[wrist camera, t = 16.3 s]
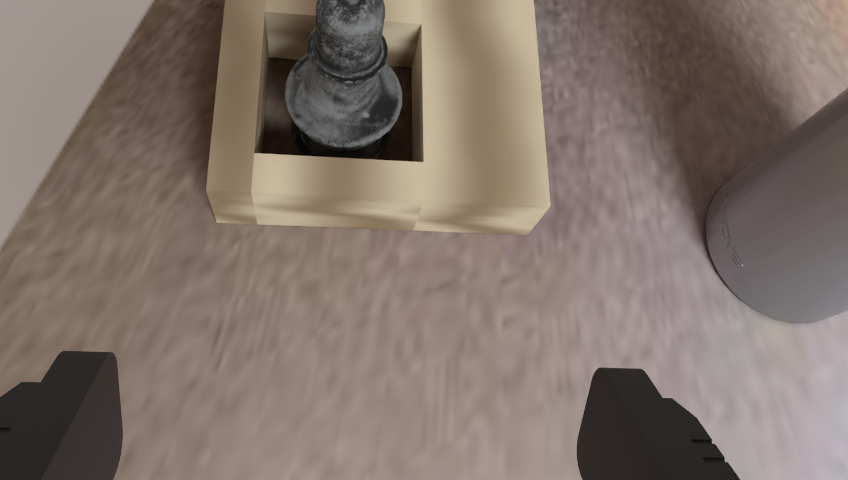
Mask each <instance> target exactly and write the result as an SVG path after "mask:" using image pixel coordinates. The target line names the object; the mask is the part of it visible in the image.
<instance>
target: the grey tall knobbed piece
mask: <svg viewBox="0 0 848 480" xmlns="http://www.w3.org/2000/svg"><path fill="white" fill-rule="evenodd" d="M384 19H385V5H384V1H383V0H317V2H316V27H315V28H314V29H313V31H312V32H311V33H310V36H309V38H308V41H307V53H308V54H306V55H305V56H304V57H302V58H301V59H299V60H298V61H297V63H296V64H295V65H294V67H293V68H292V69H291V70H290V72H289V75H288V78H287V80H286V83H285V95H284V98H285V102H286V106H287V110H288V113H289V114H290V116H291V118H292V120H293V126H292V132H293V136H294V140H295V144H296V145H297V147H298V149H299V150H300V152H301V154H303V155H304V156H318V157H336V158H355V159H374V160H377V159H378V158H379V157H380V156H381V154H382V153H383V151H384V150H385V148H386V146H387V143H388V139H389V130H390V129H391V128H392V126H393V125H394V123H395V122H396V120H397V119H398V117H399V113H400V110H401V107H402V90H401V86H400V83H399V80H398V78H397V76H396V74H395V73H394V71H393V70H392V68H391V67H390V66H389V65H388V64H387V63H386V60H387V56H388V46H387V43H386V40H385V38H384V36H383V35H382V32H383V26H384Z"/></svg>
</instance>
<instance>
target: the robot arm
mask: <svg viewBox="0 0 848 480" xmlns="http://www.w3.org/2000/svg"><path fill="white" fill-rule="evenodd" d="M706 241H707V245H708V249H709V252H710V256H711V259H712V261H713V263H714V265H715V267H716V269H717V271H718V273H719V275H720V276H721V278H722V279H723V280H724V282H725V283H726V284H727V286H728V287H729V289H730V290H731V291H732V292H734V293H735V294H736V295H737V296H738V297H739V298H740V299H741V300H742V301H743V302H744V303H746V304H747V305H749V306H750V307H751V308H753V309H754V310H756V311H757V312H759V313H761V314H764V315H766V316H768V317H770V318H773V319H775V320H780V321H784V322H789V323H811V322H815V321H819V320H823V319H826V318H829V317H832V316H834V315H837V314H840V313H843V312H845V311H848V88H847V89H846V90H845V91H843V92H842V93H841V94H839V95H838V96H837V97H836V98H834V99H833V100H832V101H830V102H829V103H828V104H827V105H825V106H824V107H823V108H821V109H820V110H819V111H818V112H816V113H815V114H814V115H812V116H811V117H810V118H809V119H807V120H806V121H805V122H803V123H802V124H801V125H800V126H798V127H797V128H796V129H794V130H793V131H792V132H791V133H789V134H788V135H787V136H785V137H784V138H783V139H782V140H780V141H779V142H778V143H776V144H775V145H774V146H773V147H771V148H770V149H769V150H767V151H766V152H765V153H763V154H762V155H761V156H760V157H758V158H757V159H756V160H755V161H753V162H752V163H751V164H750V165H748V166H747V167H746V168H745V169H743V170H742V171H741V172H739V173H738V174H737V175H736V176H734V177H733V178H732V179H730V180H729V181H728V182H727V183H725V184H724V185H723V186H722V187H721V188H720V189H719V191H718V192H717V193H716V194H715V196H714V197H713V200H712V202H711V204H710V206H709V209H708V213H707V219H706ZM122 438H123V430H122V417H121V405H120V393H119V380H118V368H117V361H116V357H115V355H114V353H112V352H82V351H62V352H61V353H60V354H59V355H58V356H57V358H56V359H55V361H54V362H53V364H52V366H51V367H50V369H49V370H48V372H47V373H46V375H45V376H44V378H43V380H42V381H41V383H39V382H21V383H20V384H18V385H17V386H15V387H14V388H13V389H11V390H10V391H8V392H7V393H6V394H4V395H3V396H1V397H0V480H113V478H114V476H115V473H116V471H117V468H118V464H119V460H120V455H121V449H122ZM724 459H725V458H724V456H723V455H722V453H721V452H720V450H719V449H718V448H717V446H716V445H715V444H712V439H711V438H710V436H709V435H708V433H707V432H706V431H705V429H704V428H703V426H702V425H701V424H700V422H699V421H698V419H697V418H696V417H695V416H694V415H692V414H691V413H690V412H689V411H687V410H686V409H685V408H683V407H682V406H681V405H680V404H678V403H677V402H676V401H674V400H673V399H672V398H662V396H661V395H660V393H659V392H658V390H657V389H656V387H655V386H654V384H653V383H652V381H651V380H650V378H649V377H648V375H647V374H646V373H645V371H643V370H642V369H628V368H598V369H597V370H596V371H595V373H594V375H593V378H592V381H591V386H590V390H589V394H588V398H587V402H586V406H585V410H584V415H583V419H582V423H581V427H580V431H579V435H578V441H577V461H578V467H579V471H580V474H581V477H582V479H583V480H740V479H739V477H738V476H737V475H736V473H735V472H734V470H733V469H732V467H731V466H730V465H729V463H728V462H725V460H724Z"/></svg>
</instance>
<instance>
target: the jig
mask: <svg viewBox="0 0 848 480" xmlns="http://www.w3.org/2000/svg"><path fill="white" fill-rule="evenodd" d="M383 1H384V5H385V19H384V26H383V32H382V35H383V36H384V38H385V40H386V43H387V46H388V56H387V60H386V63H387V64H388V65H389V66H394V67H408V68H412V162H411V161H392V160H374V159H355V158H336V157H318V156H299V155H280V154H262V152H263V138H264V124H265V110H266V96H267V82H268V69H269V57H270V58H284V59H297V60H299V59H301V58H302V57H304V56H305V55H306V54H308V53H307V41H308V38H309V36H310V33H311V32H312V31H313V29H314V28H315V27H316V2H317V0H225V6H224V16H223V26H222V35H221V45H220V55H219V65H218V75H217V85H216V95H215V105H214V115H213V125H212V135H211V145H210V155H209V165H208V175H207V185H206V192H207V195H208V198H209V201H210V204H211V207H212V210H213V213H214V216H215V219H216V222H217V223H238V224H263V225H289V226H314V227H339V228H364V229H389V230H414V231H440V232H465V233H490V234H515V235H528V234H529V232H530V231H531V230H532V229H533V227H534V226H535V225H536V224H537V222H538V221H539V220H540V219H541V217H542V216H543V215H544V214H545V212H546V211H547V210H548V209H549V207H550V206H551V205H550V193H549V181H548V168H547V156H546V144H545V132H544V120H543V108H542V95H541V83H540V71H539V59H538V47H537V35H536V23H535V10H534V0H383Z"/></svg>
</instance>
